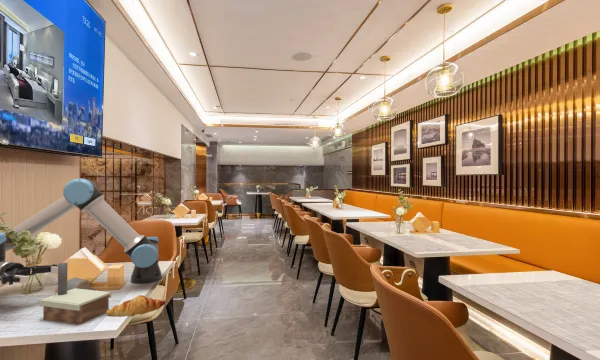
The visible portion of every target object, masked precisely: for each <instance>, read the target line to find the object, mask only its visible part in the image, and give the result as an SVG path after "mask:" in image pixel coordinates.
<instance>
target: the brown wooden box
mask: <svg viewBox="0 0 600 360" xmlns="http://www.w3.org/2000/svg"><path fill="white" fill-rule="evenodd" d="M109 299H110V298H109V295H107V296H105V297H102V298H100V299H97V300H95V301H92V302H89V303H87V304H84V305H82V306H80V310H79V311H76V310H69V309H61V308H54V307H47V306H43V307H42V308H43V309H42V310H43V312H42V313H43V314H42V315H43V317H42V318H43V320H47V321H55V322H60V323H61V322H63V323H67V324H68V323H69V324H74V325H82V324H85V323H86V322H88V321H90V320H93V319H95V318H97V317H100V316H103V315H104V314H106V311H107V310H109V307H110V305H109V303H110V302H109V301H110V300H109Z"/></svg>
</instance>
